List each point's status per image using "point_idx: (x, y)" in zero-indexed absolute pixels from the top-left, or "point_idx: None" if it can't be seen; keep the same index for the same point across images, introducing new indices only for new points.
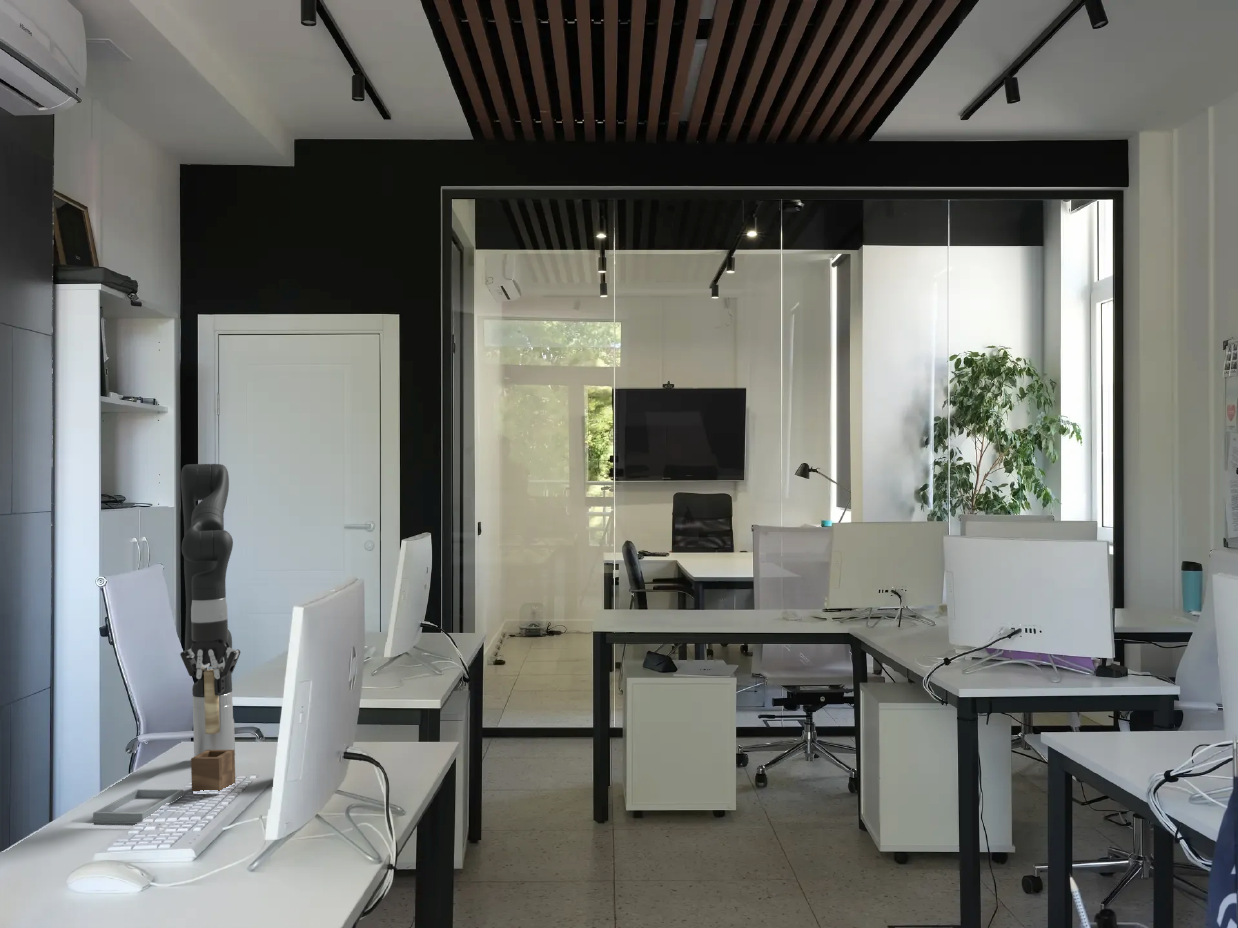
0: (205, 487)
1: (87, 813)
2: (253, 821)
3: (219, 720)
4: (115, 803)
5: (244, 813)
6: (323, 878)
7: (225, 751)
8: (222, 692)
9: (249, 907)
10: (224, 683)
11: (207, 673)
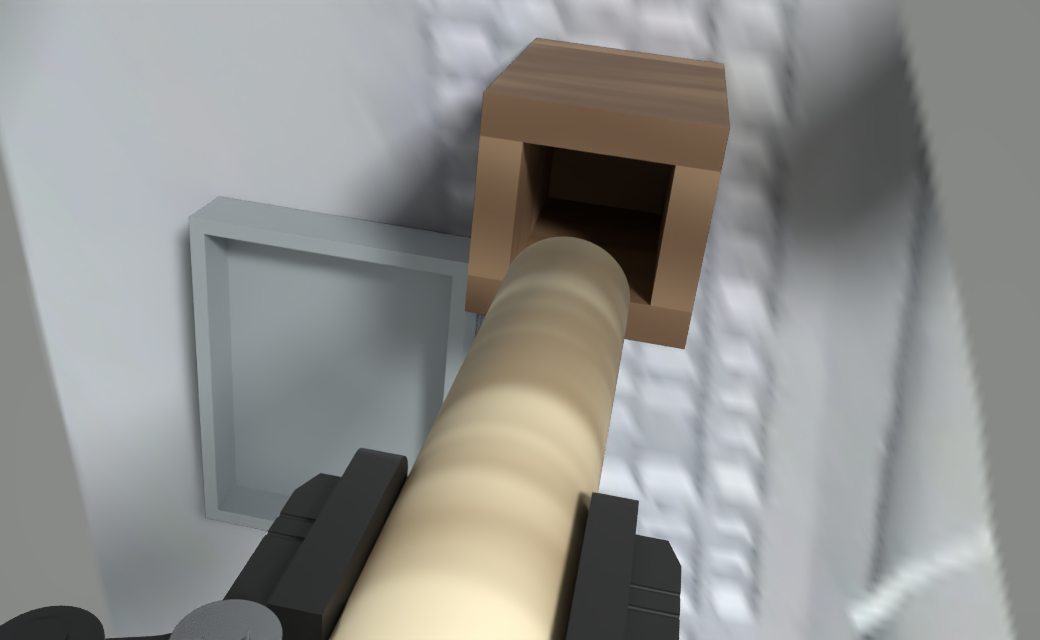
0: None
1: (100, 348)
2: (985, 570)
3: (616, 322)
4: (216, 400)
5: (908, 467)
6: None
7: (664, 163)
8: (637, 508)
9: None
10: (677, 633)
11: None
